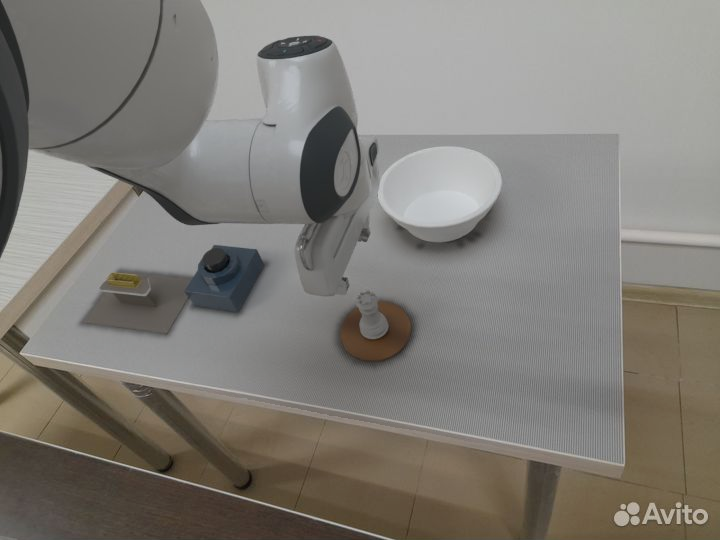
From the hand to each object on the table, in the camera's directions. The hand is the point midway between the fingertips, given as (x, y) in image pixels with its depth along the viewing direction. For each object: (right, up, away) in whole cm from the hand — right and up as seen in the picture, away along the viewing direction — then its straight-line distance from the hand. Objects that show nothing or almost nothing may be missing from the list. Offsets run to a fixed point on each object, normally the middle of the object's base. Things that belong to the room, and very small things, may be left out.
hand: (353, 263), depth 69 cm
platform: (-39, -7, +26) cm, 47 cm away
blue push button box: (-22, -4, +24) cm, 33 cm away
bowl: (+16, +8, +26) cm, 31 cm away
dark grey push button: (-23, 0, +20) cm, 31 cm away
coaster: (+3, -10, +12) cm, 16 cm away
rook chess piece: (+3, -10, +12) cm, 16 cm away
